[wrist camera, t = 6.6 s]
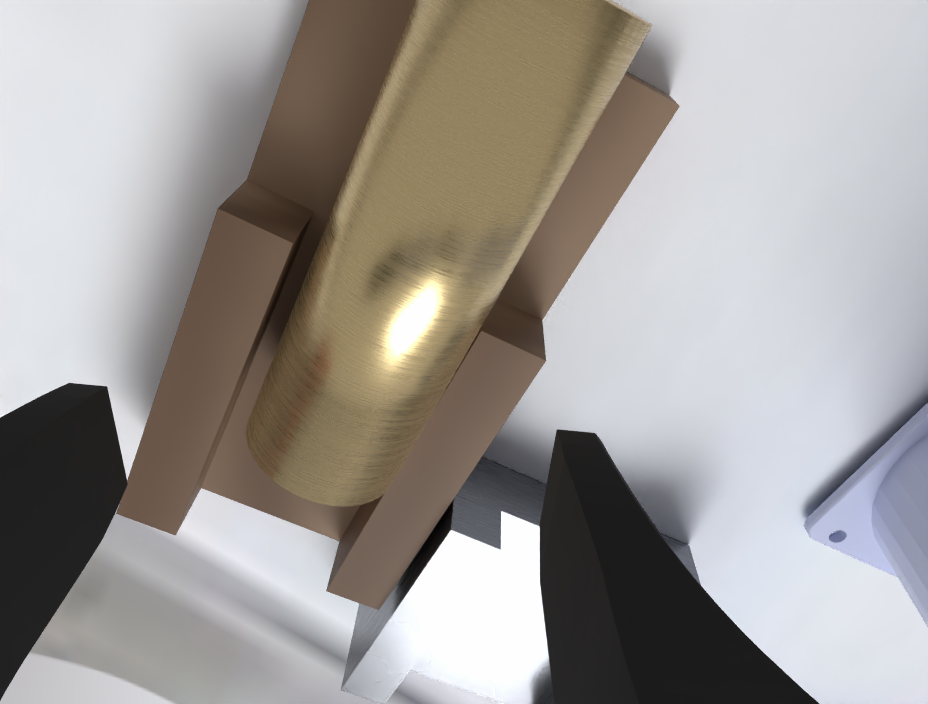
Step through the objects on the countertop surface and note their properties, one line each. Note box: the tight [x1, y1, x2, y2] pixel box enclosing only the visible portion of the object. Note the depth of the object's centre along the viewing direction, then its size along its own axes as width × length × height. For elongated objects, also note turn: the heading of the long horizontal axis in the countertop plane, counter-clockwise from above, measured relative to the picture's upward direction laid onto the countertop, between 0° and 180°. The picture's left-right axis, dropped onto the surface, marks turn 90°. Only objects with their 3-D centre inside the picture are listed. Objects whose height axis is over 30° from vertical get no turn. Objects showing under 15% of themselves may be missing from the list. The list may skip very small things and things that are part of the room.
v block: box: [341, 457, 701, 704], centre depth 23 cm, size 8×8×4 cm
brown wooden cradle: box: [116, 0, 679, 610], centre depth 18 cm, size 8×16×3 cm, turn 153°
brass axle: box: [246, 0, 653, 507], centre depth 16 cm, size 12×4×4 cm, turn 154°
